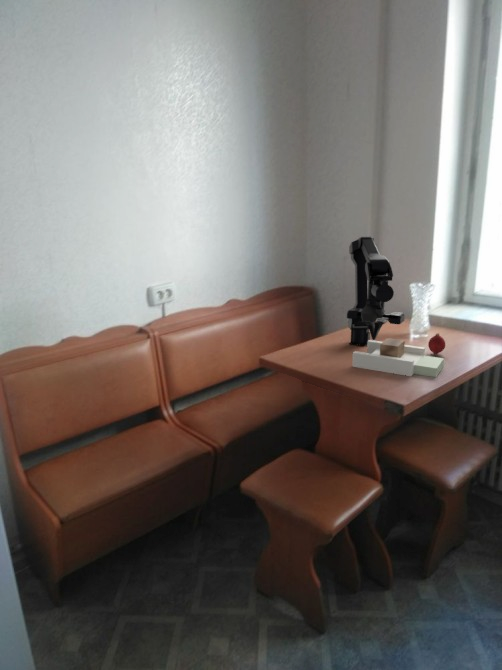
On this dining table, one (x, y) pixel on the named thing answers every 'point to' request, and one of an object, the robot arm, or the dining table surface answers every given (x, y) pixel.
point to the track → (388, 359)
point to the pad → (428, 366)
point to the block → (392, 347)
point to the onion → (436, 344)
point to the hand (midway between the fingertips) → (374, 339)
